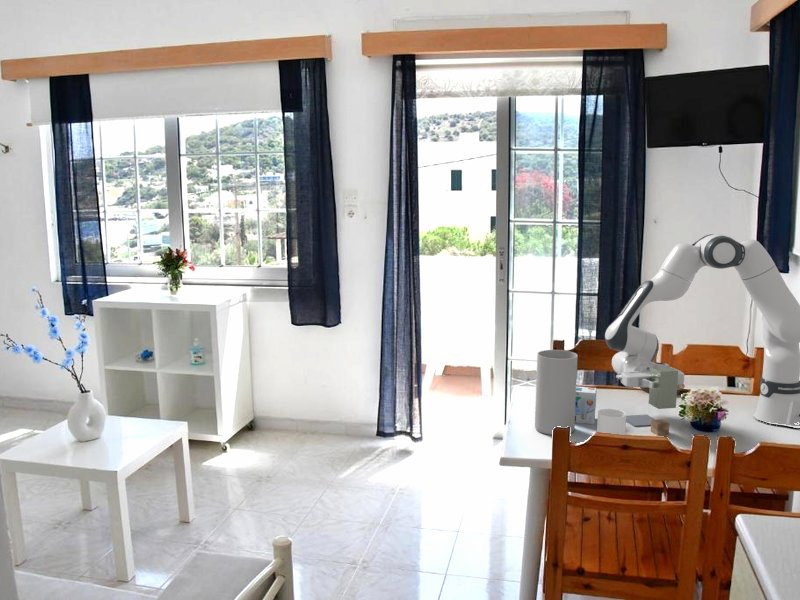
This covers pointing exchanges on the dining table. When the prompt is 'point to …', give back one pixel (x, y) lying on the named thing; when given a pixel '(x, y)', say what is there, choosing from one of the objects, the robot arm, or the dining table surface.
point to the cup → (611, 421)
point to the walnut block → (660, 427)
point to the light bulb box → (585, 405)
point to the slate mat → (639, 420)
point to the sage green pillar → (663, 387)
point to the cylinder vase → (555, 390)
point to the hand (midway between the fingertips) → (664, 384)
